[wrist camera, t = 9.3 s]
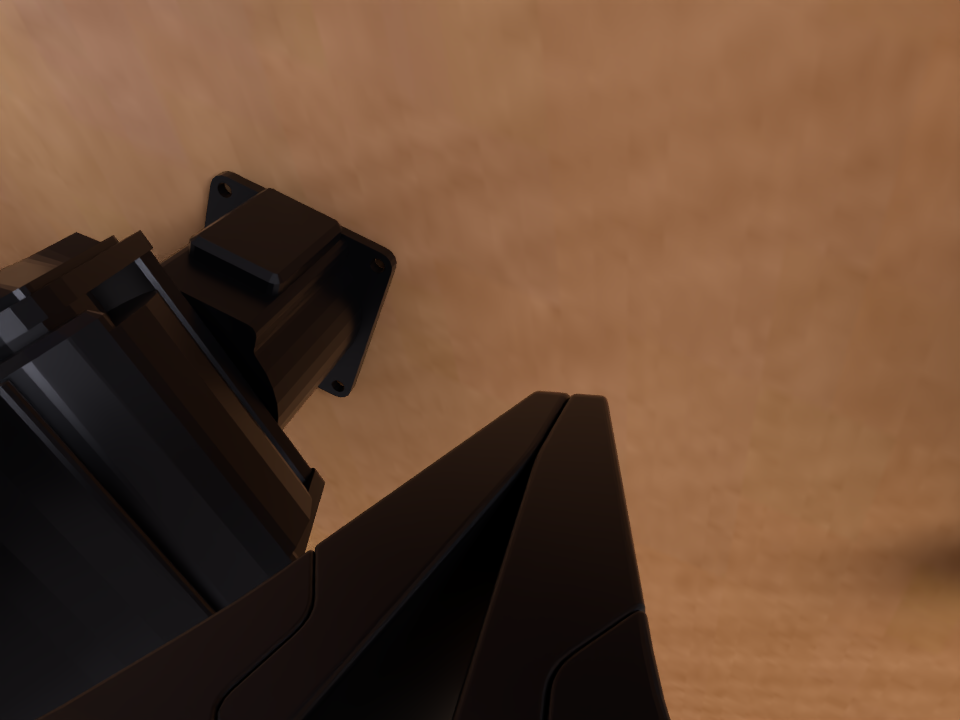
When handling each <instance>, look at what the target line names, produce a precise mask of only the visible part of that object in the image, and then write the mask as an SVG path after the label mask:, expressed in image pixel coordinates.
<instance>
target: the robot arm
mask: <svg viewBox="0 0 960 720" xmlns="http://www.w3.org/2000/svg"><path fill="white" fill-rule="evenodd" d="M224 183H226V184H227V185H228V186H229V187H230V188H231V191H232V193H230V192H228V191H227V190H226V188H225V184H224ZM151 249H153V247H152V245H151V244H150V243H149V241H148V240H147V238H146V237H145V236H144V234H143V233H142V232H141V230H140V231H138V232H136V233H134V234H133V235H131V236H129V237H127V238H125V239H124V240H122V241H120V242H118V240H117V239H116V238H115V236H114V235H113V236H111V237H109V238H107V239H106V240H104V241H102V242H99V241H97V240H94V239H92V238H89V237H87V236H84V235H82V234H80V233H77V232H76V233H74V234H72V235H70V236H68V237H66V238H64V239H62V240H61V241H59V242H57V243H55V244H53V245H51V246H49V247H47V248H45V249H44V250H42V251H40V252H38V253H36V254H34V255H32V256H30V257H28V258H26V259H24V260H22V261H19V262H17V263H15V264H13V265H10V266H8V267H6V268H3V269H1V270H0V720H670V717H669V713H668V710H667V707H666V703H665V700H664V695H663V691H662V687H661V682H660V678H659V673H658V669H657V664H656V660H655V656H654V651H653V646H652V641H651V635H650V629H649V624H648V618H647V615H646V614H645V604H644V599H643V593H642V588H641V582H640V577H639V571H638V566H637V560H636V555H635V549H634V544H633V538H632V533H631V527H630V522H629V516H628V511H627V505H626V500H625V494H624V489H623V483H622V477H621V472H620V466H619V461H618V455H617V450H616V444H615V439H614V433H613V428H612V422H611V417H610V411H609V406H608V401H607V399H606V398H605V397H604V396H600V395H586V394H574V395H572V396H571V397H570V396H569V395H568V394H567V393H560V392H547V391H537V392H534V393H532V394H531V395H529V396H528V397H526V398H525V399H524V400H522V401H521V402H519V403H518V404H517V405H515V406H514V407H512V408H511V409H509V410H508V411H507V412H505V413H504V414H502V415H501V416H500V417H498V418H497V419H495V420H494V421H492V422H491V423H490V424H488V425H487V426H485V427H484V428H482V429H481V430H480V431H478V432H477V433H475V434H474V435H473V436H471V437H470V438H468V439H467V440H465V441H464V442H463V443H461V444H460V445H458V446H457V447H455V448H454V449H453V450H451V451H450V452H448V453H447V454H446V455H444V456H443V457H441V458H440V459H438V460H437V461H436V462H434V463H433V464H431V465H430V466H429V467H427V468H426V469H424V470H423V471H421V472H420V473H419V474H417V475H416V476H414V477H413V478H411V479H410V480H409V481H407V482H406V483H404V484H403V485H402V486H400V487H399V488H397V489H396V490H394V491H393V492H392V493H390V494H389V495H387V496H386V497H385V498H383V499H382V500H380V501H379V502H377V503H376V504H375V505H373V506H372V507H370V508H369V509H367V510H366V511H365V512H363V513H362V514H360V515H359V516H358V517H356V518H355V519H353V520H352V521H350V522H349V523H348V524H346V525H345V526H343V527H342V528H340V529H339V530H338V531H336V532H335V533H333V534H332V535H331V536H329V537H328V538H326V539H325V540H323V541H322V542H321V543H319V544H318V545H317V546H316V547H315V552H314V551H312V550H309V551H307V552H306V553H305V550H306V547H307V543H308V540H309V536H310V533H311V530H312V526H313V523H314V519H315V516H316V512H317V509H318V505H319V502H320V499H321V495H322V492H323V488H324V485H325V481H324V480H323V479H322V477H321V476H320V475H319V473H318V472H317V471H316V469H315V468H310V467H309V466H308V464H307V463H306V461H305V460H304V459H303V457H302V456H301V455H300V453H299V452H298V451H297V449H296V448H295V447H294V445H293V444H292V442H291V441H290V440H289V438H288V437H287V436H286V434H285V433H284V432H283V429H284V427H285V426H286V425H287V424H288V422H289V421H290V420H291V419H292V418H293V416H294V415H295V414H296V413H297V411H298V410H299V409H300V408H301V407H302V405H303V404H304V403H305V402H306V400H307V399H308V398H309V397H310V396H311V394H312V393H313V392H314V391H315V389H316V388H317V387H319V388H321V389H323V390H325V391H327V392H329V393H331V394H333V395H335V396H338V397H346V396H348V395H349V393H350V392H351V391H352V389H353V388H354V386H355V384H356V381H357V378H358V375H359V372H360V369H361V367H362V364H363V361H364V358H365V355H366V352H367V349H368V347H369V344H370V341H371V338H372V335H373V332H374V329H375V326H376V324H377V321H378V318H379V315H380V312H381V309H382V306H383V304H384V301H385V298H386V295H387V292H388V289H389V286H390V283H391V281H392V278H393V275H394V272H395V269H396V264H397V262H396V258H395V256H394V255H393V253H392V252H391V251H390V250H388V249H387V248H385V247H383V246H381V245H379V244H377V243H375V242H373V241H371V240H369V239H367V238H365V237H363V236H361V235H359V234H357V233H355V232H353V231H351V230H349V229H347V228H345V227H343V226H341V225H340V224H339V223H338V222H337V221H336V220H335V219H332V218H330V217H328V216H326V215H324V214H322V213H320V212H318V211H316V210H314V209H312V208H310V207H308V206H306V205H304V204H302V203H300V202H298V201H296V200H294V199H292V198H290V197H288V196H286V195H284V194H282V193H280V192H278V191H276V190H274V189H271V188H268V189H266V188H264V187H262V186H260V185H258V184H255V183H253V182H251V181H249V180H247V179H245V178H243V177H241V176H239V175H237V174H235V173H233V172H229V171H226V172H222V173H220V174H219V175H217V176H215V177H214V178H213V179H212V182H211V185H210V192H209V200H208V207H207V214H206V221H205V228H204V229H203V230H201V231H199V232H198V233H196V234H195V235H193V236H192V237H191V238H190V241H189V244H188V245H186V246H185V247H183V248H182V249H180V250H179V251H177V252H176V253H174V254H173V255H171V256H170V257H168V258H167V259H165V260H164V261H162V262H161V263H159V262H158V260H157V259H156V258H155V256H154V255H153V253H152V252H151V251H150V250H151ZM375 259H380V260H381V261H382V262H383V263H384V265H385V268H382V267H379V266H378V265H377V264H376V262H375ZM337 381H340V382H341V383H343V385H344V386H343V385H340V384H339V383H338V382H337Z"/></svg>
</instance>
